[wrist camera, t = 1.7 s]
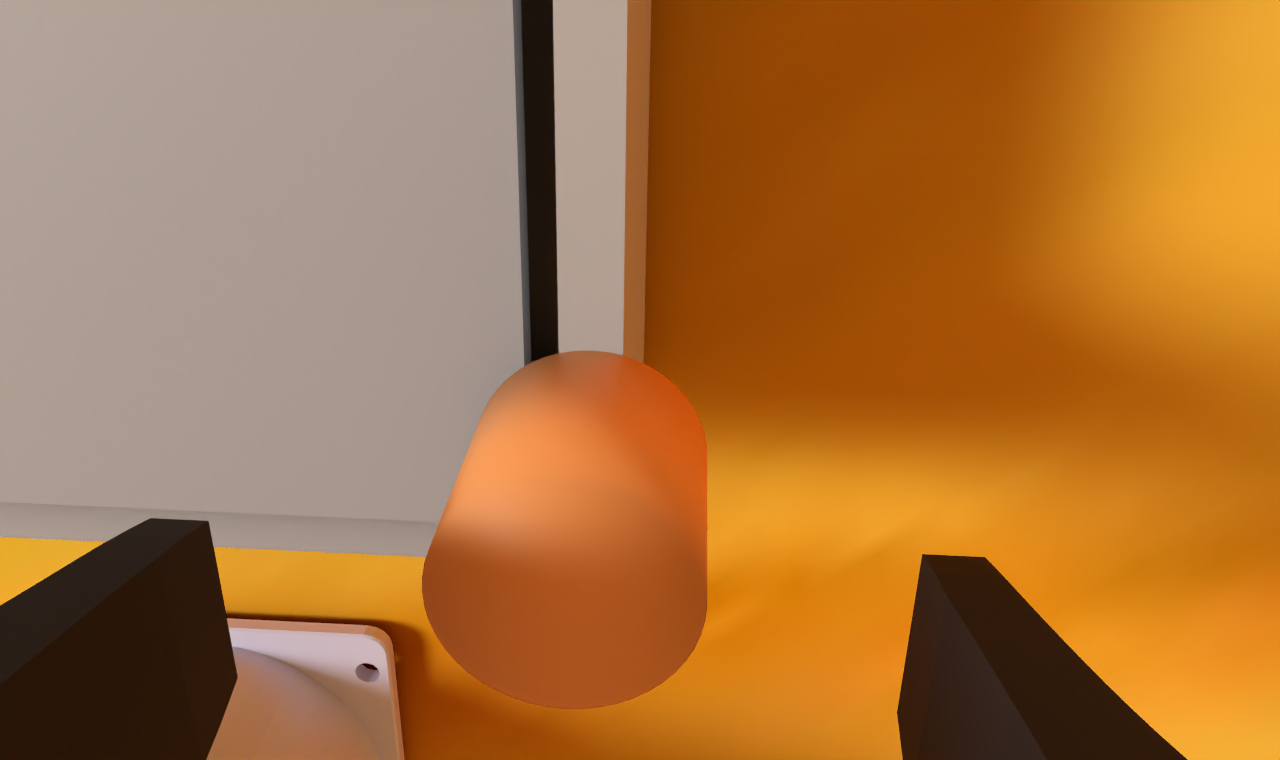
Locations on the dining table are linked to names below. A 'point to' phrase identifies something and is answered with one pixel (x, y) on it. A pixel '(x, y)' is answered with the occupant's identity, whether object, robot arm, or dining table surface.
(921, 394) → the dining table surface
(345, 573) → the dining table surface
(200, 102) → the carton
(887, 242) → the dining table surface
